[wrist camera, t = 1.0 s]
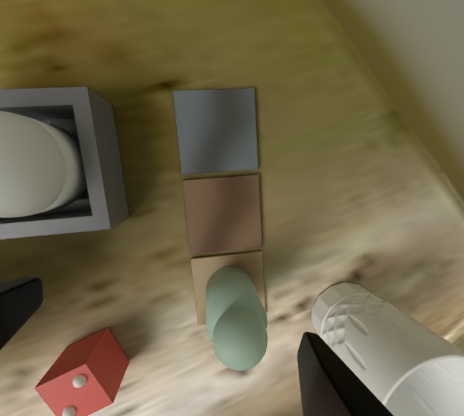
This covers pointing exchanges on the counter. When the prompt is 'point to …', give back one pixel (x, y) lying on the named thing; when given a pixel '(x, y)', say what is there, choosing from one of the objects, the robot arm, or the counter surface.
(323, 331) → the white cup
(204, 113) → the game track
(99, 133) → the grey square tray
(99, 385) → the red die
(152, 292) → the counter surface
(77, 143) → the dome
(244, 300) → the pawn
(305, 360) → the robot arm
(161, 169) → the counter surface
